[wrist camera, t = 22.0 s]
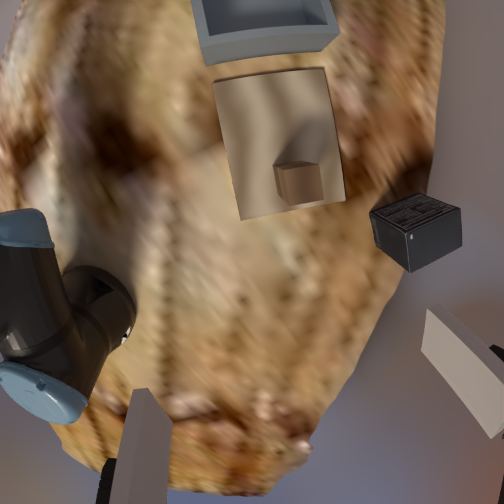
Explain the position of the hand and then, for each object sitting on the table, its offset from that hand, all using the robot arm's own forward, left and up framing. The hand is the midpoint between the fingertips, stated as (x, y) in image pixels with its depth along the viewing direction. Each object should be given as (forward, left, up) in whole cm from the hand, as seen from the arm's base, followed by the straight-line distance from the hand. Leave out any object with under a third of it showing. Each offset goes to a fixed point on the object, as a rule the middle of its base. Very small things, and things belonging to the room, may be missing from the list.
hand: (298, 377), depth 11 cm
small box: (+23, -5, -31) cm, 39 cm away
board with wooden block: (+6, +9, -31) cm, 33 cm away
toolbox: (+9, +32, -30) cm, 45 cm away
